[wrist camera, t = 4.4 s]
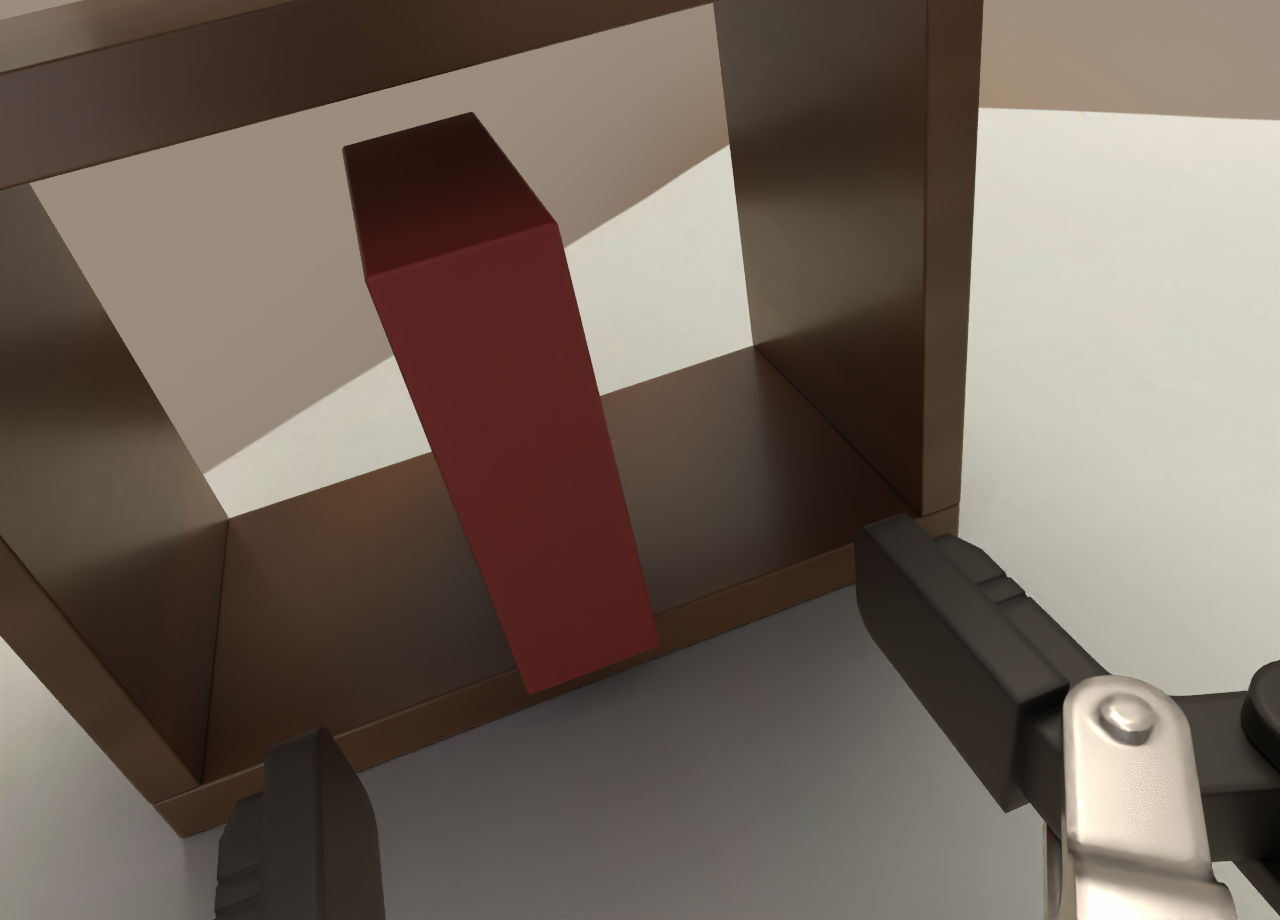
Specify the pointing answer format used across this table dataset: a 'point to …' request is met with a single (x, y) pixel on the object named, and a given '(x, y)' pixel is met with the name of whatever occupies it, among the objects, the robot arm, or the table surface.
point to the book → (503, 390)
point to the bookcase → (414, 489)
